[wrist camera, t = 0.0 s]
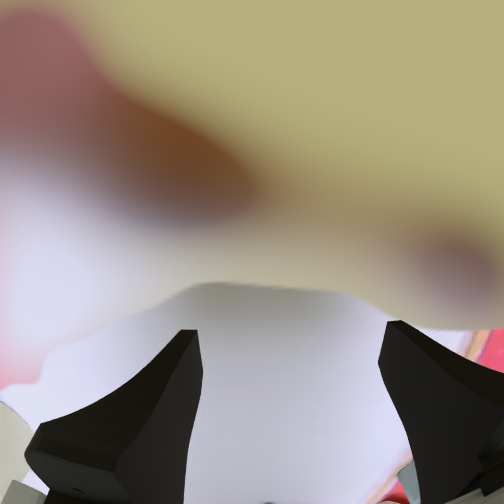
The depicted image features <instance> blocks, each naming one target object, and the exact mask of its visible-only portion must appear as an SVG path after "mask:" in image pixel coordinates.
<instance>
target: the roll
mask: <svg viewBox="0 0 504 504" xmlns="http://www.w3.org/2000/svg"><path fill="white" fill-rule="evenodd" d="M378 504H400V503H396V502H393V501H383V502H379V503H378Z"/></svg>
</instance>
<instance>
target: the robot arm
mask: <svg viewBox="0 0 504 504" xmlns="http://www.w3.org/2000/svg"><path fill="white" fill-rule="evenodd" d="M378 365H379V368H380V372H381V375H382V378H383V381H384V384H385V386H386V389H387V391H388V393H389V395H390V397H391V400H392V402H393V404H394V406H395V408H396V410H397V412H398V415H399V417H400V419H401V421H402V423H403V426H404V428H405V431H406V434H407V437H408V441H409V444H410V448H411V451H412V455H413V459H414V464H415V468H416V473H417V479H418V485H419V492H420V501H421V504H504V373H501V372H498V371H495V370H492V369H489V368H487V367H484V366H481V365H479V364H477V363H475V362H472V361H470V360H468V359H466V358H464V357H462V356H460V355H458V354H457V353H455V352H453V351H451V350H449V349H448V348H446V347H444V346H443V345H441V344H439V343H438V342H436V341H434V340H433V339H431V338H430V337H428V336H427V335H425V334H423V333H422V332H420V331H419V330H417V329H416V328H414V327H412V326H411V325H409V324H407V323H406V322H404V321H402V320H398V321H388V322H387V325H386V330H385V334H384V339H383V343H382V347H381V352H380V356H379V360H378ZM202 378H203V367H202V361H201V354H200V347H199V340H198V332H197V330H180V331H179V332H178V333H177V334H176V335H175V336H174V337H173V339H172V340H171V341H170V342H169V343H168V344H167V345H166V346H165V347H164V348H163V349H162V350H161V351H160V352H159V353H158V355H157V356H156V357H155V358H154V359H153V360H152V361H151V362H150V363H148V364H147V365H146V366H145V367H144V368H143V369H142V370H141V371H140V372H139V373H137V374H136V375H135V376H134V377H133V378H131V379H130V380H129V381H128V382H126V383H125V384H123V385H122V386H121V387H119V388H118V389H116V390H115V391H113V392H112V393H110V394H108V395H107V396H105V397H103V398H101V399H100V400H98V401H96V402H95V403H93V404H91V405H89V406H87V407H84V408H82V409H80V410H78V411H76V412H73V413H71V414H68V415H66V416H63V417H60V418H57V419H54V420H51V421H47V422H44V423H41V424H40V425H39V427H38V429H37V430H36V432H35V434H34V436H33V437H32V439H31V441H30V443H29V445H28V446H27V448H26V450H25V452H24V457H25V460H26V462H27V464H28V465H29V467H30V468H31V469H32V470H33V471H34V473H35V474H36V475H37V476H38V477H39V478H40V479H41V480H42V481H43V482H44V483H45V484H46V486H47V487H48V488H49V489H50V490H49V492H48V495H47V496H46V495H45V494H43V493H42V492H40V491H38V490H36V489H34V488H32V487H29V486H27V485H25V484H23V483H21V482H19V481H17V480H12V481H11V483H10V485H9V487H8V489H7V492H6V494H5V496H4V498H3V500H2V502H1V504H183V503H184V486H185V474H186V464H187V454H188V447H189V442H190V437H191V433H192V429H193V425H194V421H195V416H196V412H197V408H198V404H199V400H200V395H201V388H202Z"/></svg>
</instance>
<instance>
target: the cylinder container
mask: <svg viewBox="0 0 504 504" xmlns="http://www.w3.org/2000/svg"><path fill="white" fill-rule="evenodd" d="M34 434H35V433H34V432H33V430H32V429H31V428H30V426H29V425H28V424H27V423H26V422H25V421H24V420H23V419H22V418H21V416H20V415H18V414H17V413H16V412H15V411H14V410H13V409H11V408H10V407H9V406H7V405H6V404H4V403H2V402H0V504H1V502H2V500H3V498H4V496H5V494H6V492H7V489H8V487H9V485H10V483H11V481H12V480H17V481H19V482H21V481H22V480H23V478H24V477H25V476H26V474H27V473H28V471H29V470H30V467H29V465H28V464H27V462H26V460H25V457H24V452H25V450H26V448H27V446H28V445H29V443H30V441H31V439H32V437H33V436H34Z"/></svg>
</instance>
